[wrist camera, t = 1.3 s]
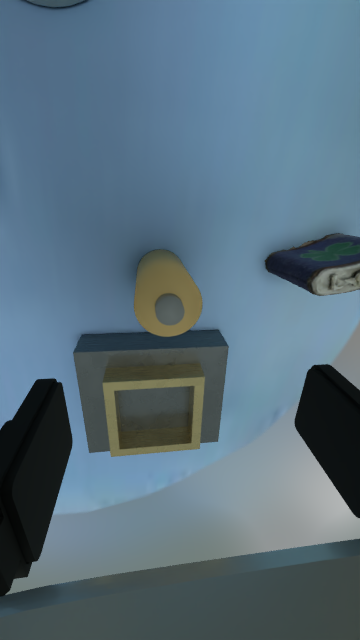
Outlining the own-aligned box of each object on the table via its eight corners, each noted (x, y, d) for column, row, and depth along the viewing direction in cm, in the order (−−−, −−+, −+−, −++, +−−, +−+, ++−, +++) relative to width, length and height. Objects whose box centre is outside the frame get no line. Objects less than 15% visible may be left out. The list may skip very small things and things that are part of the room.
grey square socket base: (81, 334, 30) (66, 366, 24) (218, 329, 32) (235, 358, 26) (94, 427, 36) (85, 471, 30) (210, 418, 38) (223, 458, 32)
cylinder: (136, 249, 27) (131, 276, 17) (184, 249, 28) (208, 276, 17) (138, 295, 29) (134, 345, 19) (183, 295, 30) (203, 342, 19)
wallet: (343, 229, 29) (443, 243, 19) (343, 255, 30) (437, 281, 20) (262, 254, 29) (322, 280, 19) (266, 279, 30) (323, 315, 20)
